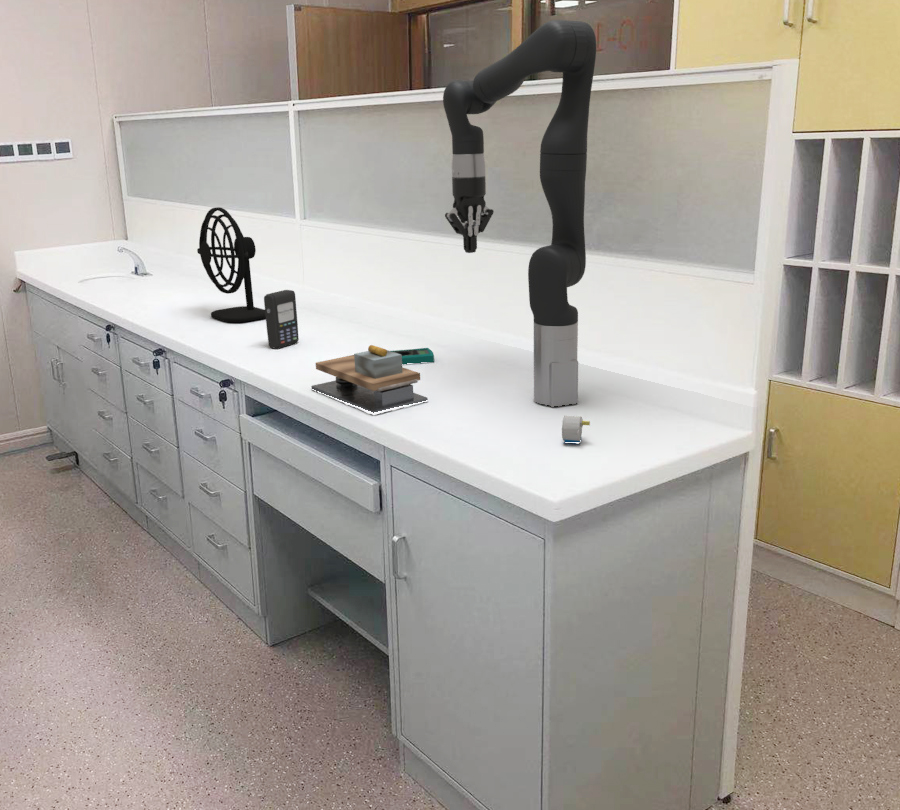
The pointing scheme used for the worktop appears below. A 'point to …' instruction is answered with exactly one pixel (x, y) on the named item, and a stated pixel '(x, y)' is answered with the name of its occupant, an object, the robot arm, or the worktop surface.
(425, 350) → the digital multimeter
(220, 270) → the desk fan
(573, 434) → the electric motor
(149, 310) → the worktop surface
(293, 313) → the card reader
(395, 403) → the levelling stand
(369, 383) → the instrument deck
